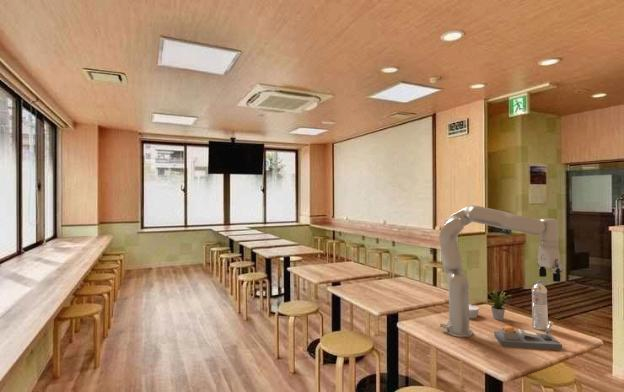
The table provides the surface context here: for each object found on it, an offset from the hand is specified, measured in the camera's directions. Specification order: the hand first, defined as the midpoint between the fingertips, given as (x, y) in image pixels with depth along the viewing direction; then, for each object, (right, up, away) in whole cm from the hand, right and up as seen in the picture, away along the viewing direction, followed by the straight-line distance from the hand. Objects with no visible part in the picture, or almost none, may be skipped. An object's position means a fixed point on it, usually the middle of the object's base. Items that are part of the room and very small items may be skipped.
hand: (549, 278), depth 171 cm
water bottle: (+4, -29, +13) cm, 32 cm away
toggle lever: (-5, -25, -6) cm, 26 cm away
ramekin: (-24, -30, +34) cm, 52 cm away
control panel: (-14, -30, -4) cm, 33 cm away
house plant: (-10, -30, +27) cm, 42 cm away
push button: (-21, -26, -2) cm, 33 cm away
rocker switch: (-13, -26, -4) cm, 29 cm away
